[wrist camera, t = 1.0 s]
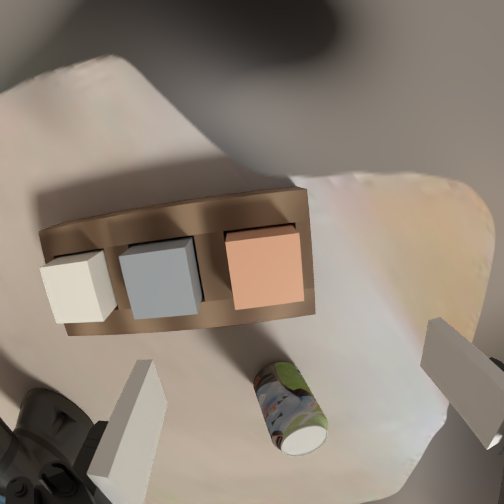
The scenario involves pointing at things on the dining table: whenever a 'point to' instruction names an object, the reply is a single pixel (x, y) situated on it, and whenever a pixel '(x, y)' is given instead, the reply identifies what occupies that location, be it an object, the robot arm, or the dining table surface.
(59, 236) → the console
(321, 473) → the dining table surface
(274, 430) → the beverage can
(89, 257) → the offwhite key
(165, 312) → the slate key
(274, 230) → the terracotta key
